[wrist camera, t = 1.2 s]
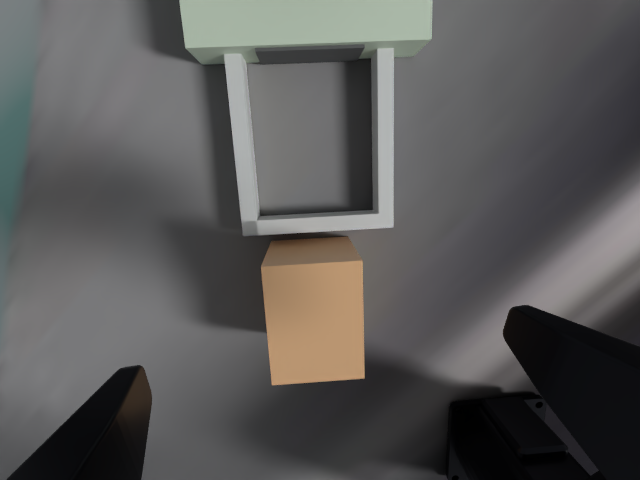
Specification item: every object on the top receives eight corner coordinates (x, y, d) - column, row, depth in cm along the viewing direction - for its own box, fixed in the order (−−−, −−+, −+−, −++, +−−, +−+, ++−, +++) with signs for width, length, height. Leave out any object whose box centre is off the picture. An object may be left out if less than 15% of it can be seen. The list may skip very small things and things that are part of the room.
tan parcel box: (350, 328, 21) (364, 378, 16) (279, 333, 21) (271, 385, 16) (347, 235, 20) (362, 260, 15) (271, 240, 19) (260, 266, 14)
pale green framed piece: (410, 221, 19) (463, 249, 13) (222, 232, 19) (182, 266, 13) (416, -184, 15) (500, -436, 9) (172, -183, 15) (73, -446, 8)
